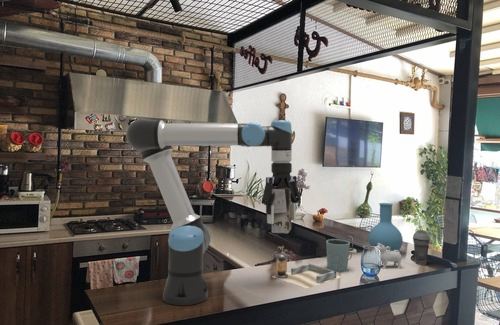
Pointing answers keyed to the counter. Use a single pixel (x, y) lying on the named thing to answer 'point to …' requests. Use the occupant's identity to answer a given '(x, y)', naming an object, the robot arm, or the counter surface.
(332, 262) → the green mug
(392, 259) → the white animal figurine
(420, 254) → the beverage cup
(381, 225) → the vase
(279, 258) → the bobbin
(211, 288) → the counter surface
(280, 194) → the coffee box
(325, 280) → the notched board
